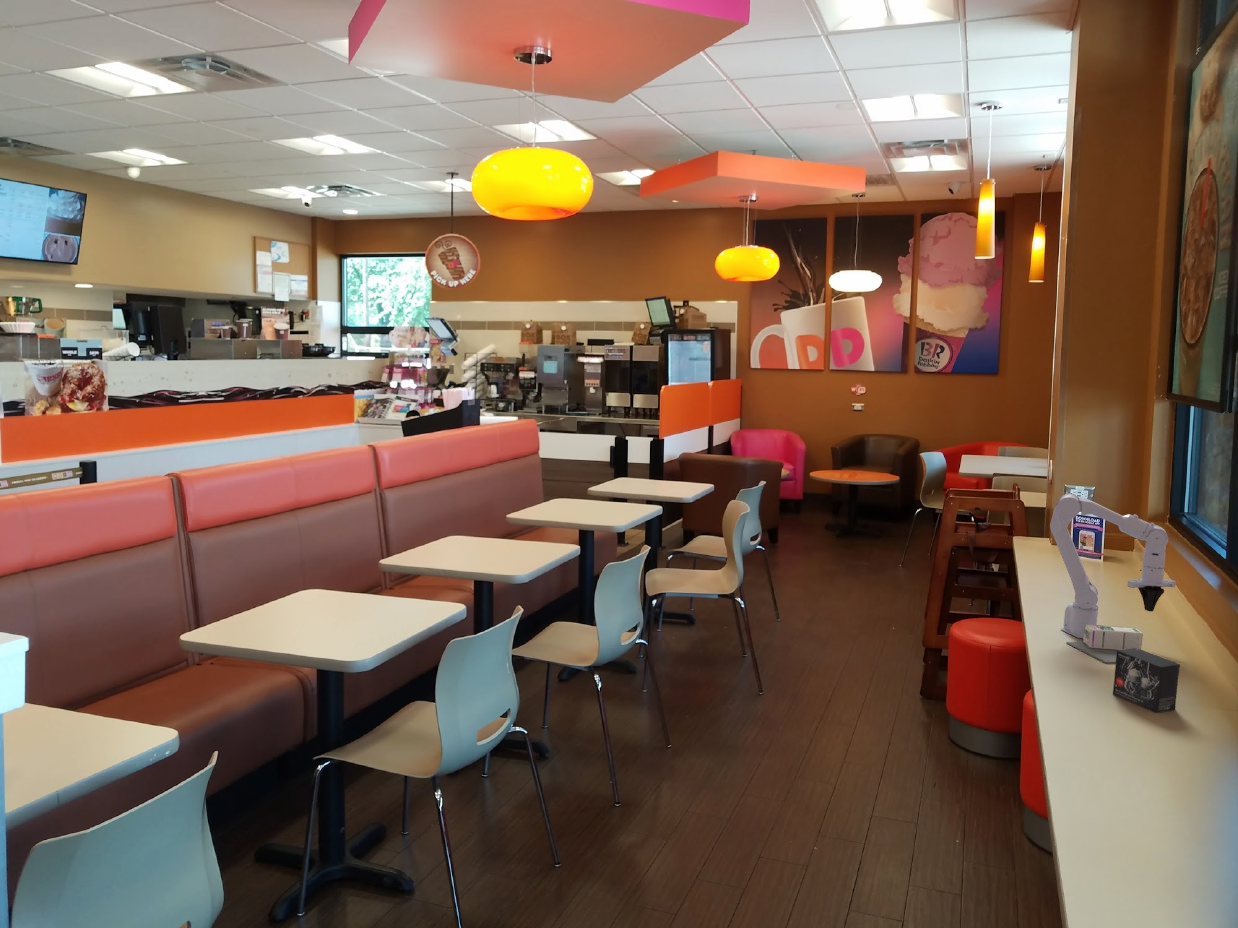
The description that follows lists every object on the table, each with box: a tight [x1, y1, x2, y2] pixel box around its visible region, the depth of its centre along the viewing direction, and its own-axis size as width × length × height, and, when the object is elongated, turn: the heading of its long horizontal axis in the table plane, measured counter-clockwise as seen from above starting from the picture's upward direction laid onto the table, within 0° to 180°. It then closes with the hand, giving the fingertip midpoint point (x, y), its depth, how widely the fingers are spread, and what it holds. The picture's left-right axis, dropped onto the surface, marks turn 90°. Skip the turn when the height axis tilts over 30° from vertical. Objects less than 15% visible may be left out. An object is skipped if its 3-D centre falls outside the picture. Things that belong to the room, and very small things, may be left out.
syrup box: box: [1082, 624, 1144, 650], centre depth 281 cm, size 6×6×14 cm
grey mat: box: [1065, 641, 1117, 664], centre depth 277 cm, size 18×16×1 cm
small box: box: [1112, 648, 1181, 714], centre depth 238 cm, size 13×7×12 cm, turn 21°
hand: (1148, 610), depth 286 cm, fingers closed
